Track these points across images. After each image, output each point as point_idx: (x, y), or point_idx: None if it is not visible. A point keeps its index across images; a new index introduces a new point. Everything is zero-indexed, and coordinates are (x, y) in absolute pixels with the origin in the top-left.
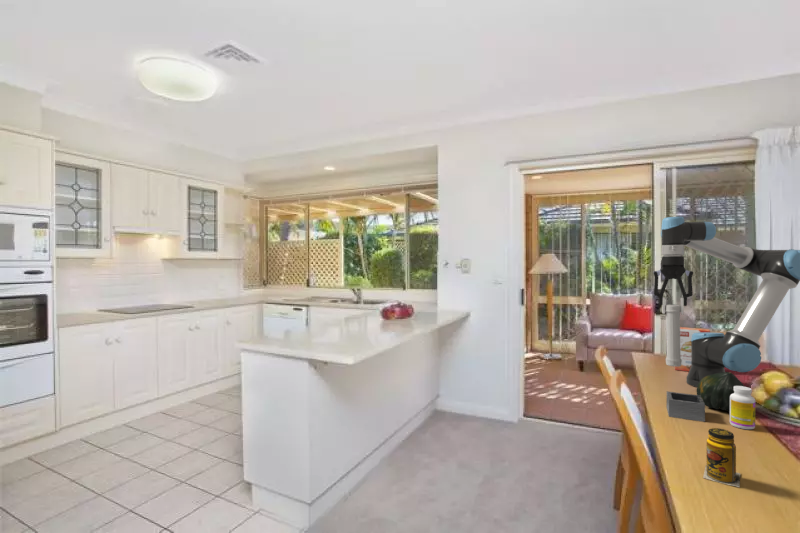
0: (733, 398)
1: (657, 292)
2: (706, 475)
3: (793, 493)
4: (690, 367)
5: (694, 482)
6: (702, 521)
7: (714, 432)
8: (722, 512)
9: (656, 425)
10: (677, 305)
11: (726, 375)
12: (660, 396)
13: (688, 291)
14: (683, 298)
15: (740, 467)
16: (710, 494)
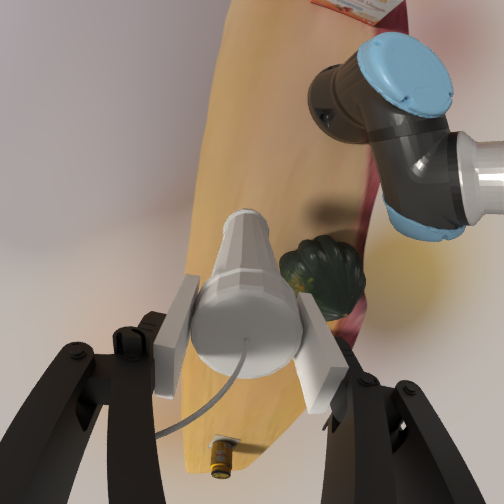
0: (298, 376)
1: (95, 416)
2: (211, 444)
3: (266, 449)
4: (342, 8)
5: (200, 450)
6: (196, 471)
7: (214, 477)
8: (209, 467)
9: (182, 368)
10: (271, 369)
11: (334, 316)
12: (216, 220)
13: (406, 419)
14: (323, 410)
15: (245, 431)
16: (207, 458)
